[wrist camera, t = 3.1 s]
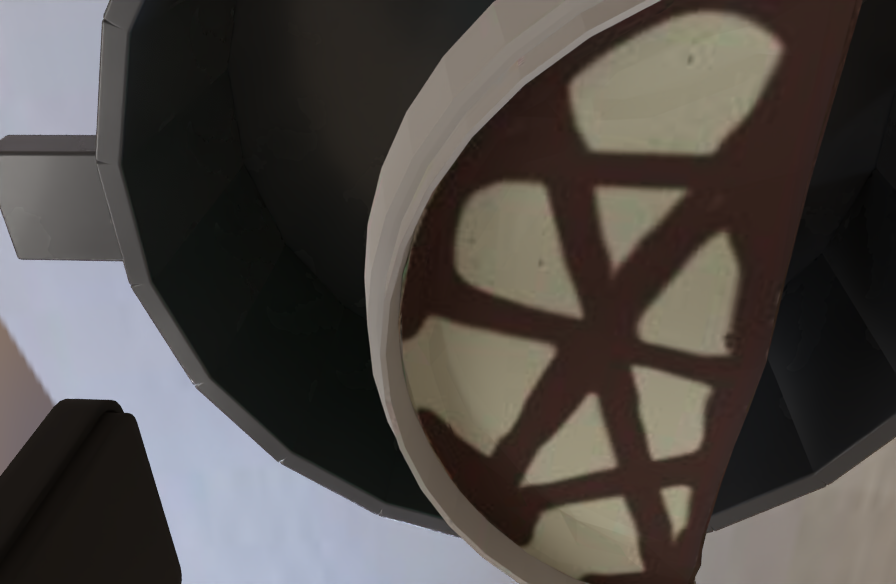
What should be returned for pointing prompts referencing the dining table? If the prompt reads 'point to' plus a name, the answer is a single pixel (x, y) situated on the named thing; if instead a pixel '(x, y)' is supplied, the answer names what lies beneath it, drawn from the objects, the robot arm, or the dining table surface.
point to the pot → (346, 220)
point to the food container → (594, 268)
